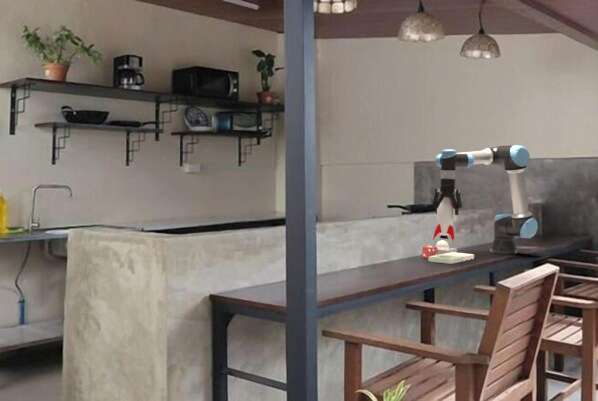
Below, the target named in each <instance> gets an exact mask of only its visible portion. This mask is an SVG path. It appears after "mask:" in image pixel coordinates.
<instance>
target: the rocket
mask: <svg viewBox="0 0 598 401" xmlns="http://www.w3.org/2000/svg"><path fill="white" fill-rule="evenodd" d="M453 209H454V205H453V203H452V200H451V198H450V197H449V196H444V198H443V199H442V201H441V203H440V205H439V207H438V211H437V214H436V221H437V226H436V228H435V230H434V233H433V234H434V235H433V238H432V240H433V241H434V240H435V239H436V237H437V236H438V234H439V239H442V240H443V239H444V240H446V239H447V240H448V239H449V237H448V236H450V238H451V241H452V242H454V240H455V229H454V227H453V223H454V221H453Z"/></svg>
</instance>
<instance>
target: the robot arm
mask: <svg viewBox="0 0 598 401" xmlns="http://www.w3.org/2000/svg"><path fill="white" fill-rule="evenodd" d="M530 158H531V157H530V152H529V151H528V149H527V148H526V147H525V146H523V145H517V144H516V145H514V144H513V145H499V146H494V147H488V148H487V147H486V148H484V149H482V150H474V151H463V152H457V151H456V149H442V150H441V153H439V154H437V155H436V157H435V165H436V166H437V167H439V168H440V187H439V188H435V189H434V192H435V193H434V198H433V202H432V205H431V206H432V207H434V208H435V214H436V215H437V211H438V207H439V205H440V203H441V201H442V199H443V198H444V196H449V197H450V198H451V200H452V203H453V205H454V209H453V222H457V221H458V220H457V219H458V216H459V209H462V208H463V204H462V197H461V189H459V188H458V189H457V188H456V187H455V186H456V168H463V169H469V168H471V167H472V166H473V165H481V164H482V165H483V164H484V165H486V166H489V165H491V166H492V165H493V166H504V171H505V172H507V173H508V182H509V190H510V198H511V205H512V206H511V207H512V213H511V214H509V213H506V214H497V215H495V216H494V222H493V225H494V226H493V240H492V243H491V246H490V249H489V250H490V251H489V252H490V253H493V254H501V255H516V254H517V253H518V250H517V246H516V242H515V237H516V238H522V239H532V238H533V237H534V236H535V235H536V233H537V232H538V229H539V225H538V221H537V219H535V218H533V213H532V212H531V211H529V210H530V209H529V201H528V195H527V188H526V177H525V170H526V169H527V165H528V164H529V163H530V162H529V161H530ZM440 192H441V193H440ZM454 193H455V194H454Z"/></svg>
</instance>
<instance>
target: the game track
mask: <svg viewBox="0 0 598 401" xmlns="http://www.w3.org/2000/svg"><path fill="white" fill-rule="evenodd" d="M471 259H472V260H474V259H475V254H473V253H464V252H457V253H456V252H451V253H445V254H440V255H434V256H429V258H428V262H431V263H440V264H448V265H452V264H457V263H458V264H459V263H461V262H465V261H466V260H467V261H471ZM467 261H466V262H467Z"/></svg>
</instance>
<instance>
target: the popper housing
mask: <svg viewBox="0 0 598 401" xmlns="http://www.w3.org/2000/svg"><path fill="white" fill-rule="evenodd" d="M451 252H456V253H458V249H457V248H455V247H449V249H446V250H443V249H437V255H440V254H445V253H451Z"/></svg>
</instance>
